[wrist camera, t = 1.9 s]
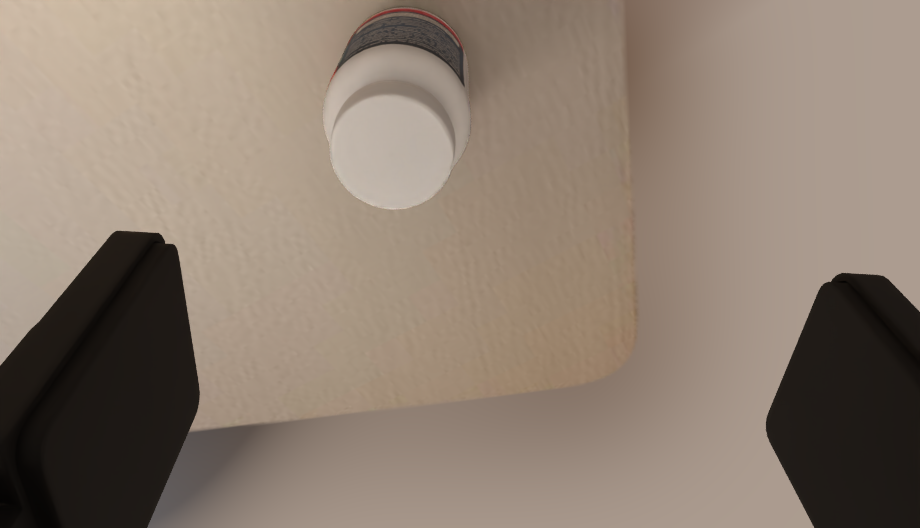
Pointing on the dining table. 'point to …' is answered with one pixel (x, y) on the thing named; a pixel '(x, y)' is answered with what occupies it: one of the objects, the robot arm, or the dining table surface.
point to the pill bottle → (398, 108)
